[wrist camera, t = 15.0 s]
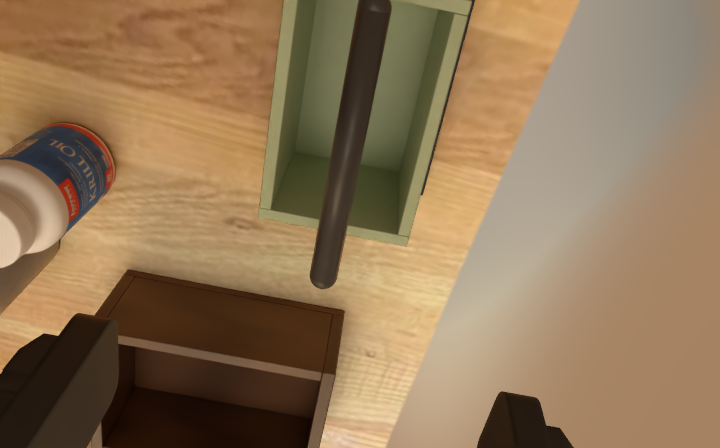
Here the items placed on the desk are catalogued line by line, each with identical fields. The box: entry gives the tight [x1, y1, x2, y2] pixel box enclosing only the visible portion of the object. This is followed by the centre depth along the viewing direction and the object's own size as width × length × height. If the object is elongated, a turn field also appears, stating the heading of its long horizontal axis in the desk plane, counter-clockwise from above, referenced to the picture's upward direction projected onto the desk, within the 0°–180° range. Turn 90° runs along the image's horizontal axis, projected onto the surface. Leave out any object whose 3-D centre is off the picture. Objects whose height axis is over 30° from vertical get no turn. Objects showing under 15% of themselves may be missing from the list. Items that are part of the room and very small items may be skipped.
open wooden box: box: [91, 270, 344, 448], centre depth 43 cm, size 16×11×6 cm
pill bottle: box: [0, 123, 115, 268], centre depth 34 cm, size 6×5×10 cm
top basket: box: [258, 0, 472, 289], centre depth 29 cm, size 13×8×13 cm, turn 169°
